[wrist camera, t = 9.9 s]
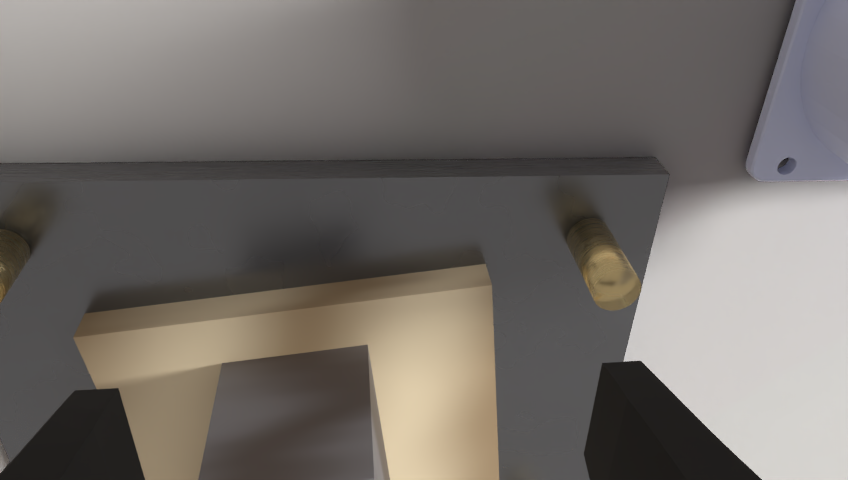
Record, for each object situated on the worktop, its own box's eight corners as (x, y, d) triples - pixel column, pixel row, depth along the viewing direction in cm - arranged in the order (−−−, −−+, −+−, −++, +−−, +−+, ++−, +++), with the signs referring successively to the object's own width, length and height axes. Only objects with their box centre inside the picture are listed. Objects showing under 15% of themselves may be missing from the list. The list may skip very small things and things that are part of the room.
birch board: (485, 263, 20) (529, 410, 15) (494, 476, 25) (529, 635, 20) (84, 313, 19) (5, 479, 15) (174, 519, 24) (136, 692, 20)
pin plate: (655, 157, 20) (710, 223, 17) (566, 539, 29) (591, 625, 26) (-82, 164, 18) (-165, 240, 15) (72, 572, 27) (40, 668, 24)
